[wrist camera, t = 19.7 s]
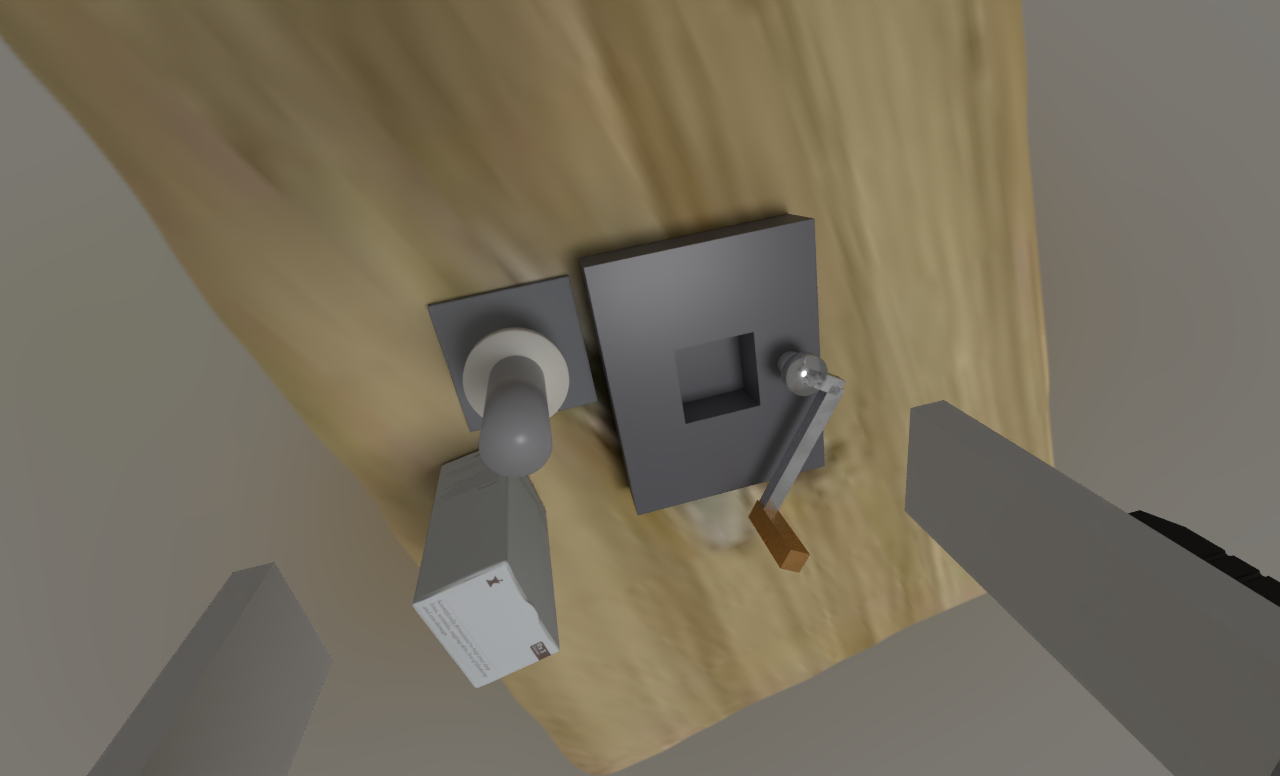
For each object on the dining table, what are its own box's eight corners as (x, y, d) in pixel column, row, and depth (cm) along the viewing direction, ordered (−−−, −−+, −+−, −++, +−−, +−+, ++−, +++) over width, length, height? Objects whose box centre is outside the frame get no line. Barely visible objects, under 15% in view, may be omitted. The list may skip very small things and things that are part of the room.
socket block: (578, 258, 39) (586, 273, 33) (788, 213, 40) (828, 221, 35) (629, 488, 47) (642, 530, 41) (802, 443, 48) (836, 478, 43)
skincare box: (440, 463, 43) (398, 601, 29) (512, 434, 43) (503, 558, 29) (487, 541, 46) (469, 696, 32) (553, 514, 46) (562, 657, 33)
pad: (428, 304, 38) (427, 306, 37) (568, 274, 39) (568, 276, 38) (471, 428, 42) (470, 431, 41) (596, 398, 43) (597, 401, 42)
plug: (483, 408, 41) (467, 517, 28) (457, 323, 38) (425, 401, 25) (572, 388, 42) (595, 485, 29) (552, 303, 39) (567, 369, 26)
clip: (711, 507, 42) (738, 558, 36) (793, 345, 38) (838, 376, 32) (765, 521, 43) (799, 572, 38) (849, 367, 39) (901, 400, 34)
